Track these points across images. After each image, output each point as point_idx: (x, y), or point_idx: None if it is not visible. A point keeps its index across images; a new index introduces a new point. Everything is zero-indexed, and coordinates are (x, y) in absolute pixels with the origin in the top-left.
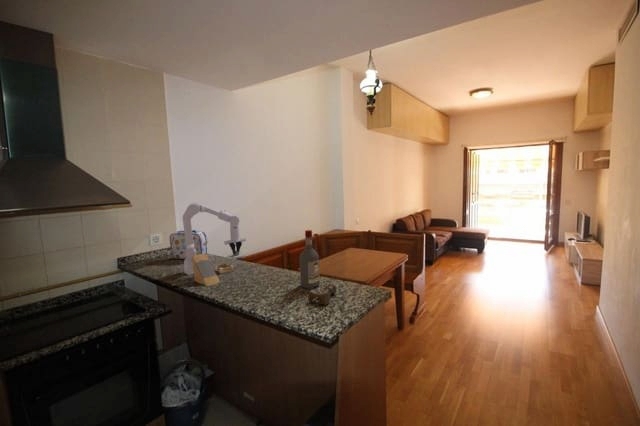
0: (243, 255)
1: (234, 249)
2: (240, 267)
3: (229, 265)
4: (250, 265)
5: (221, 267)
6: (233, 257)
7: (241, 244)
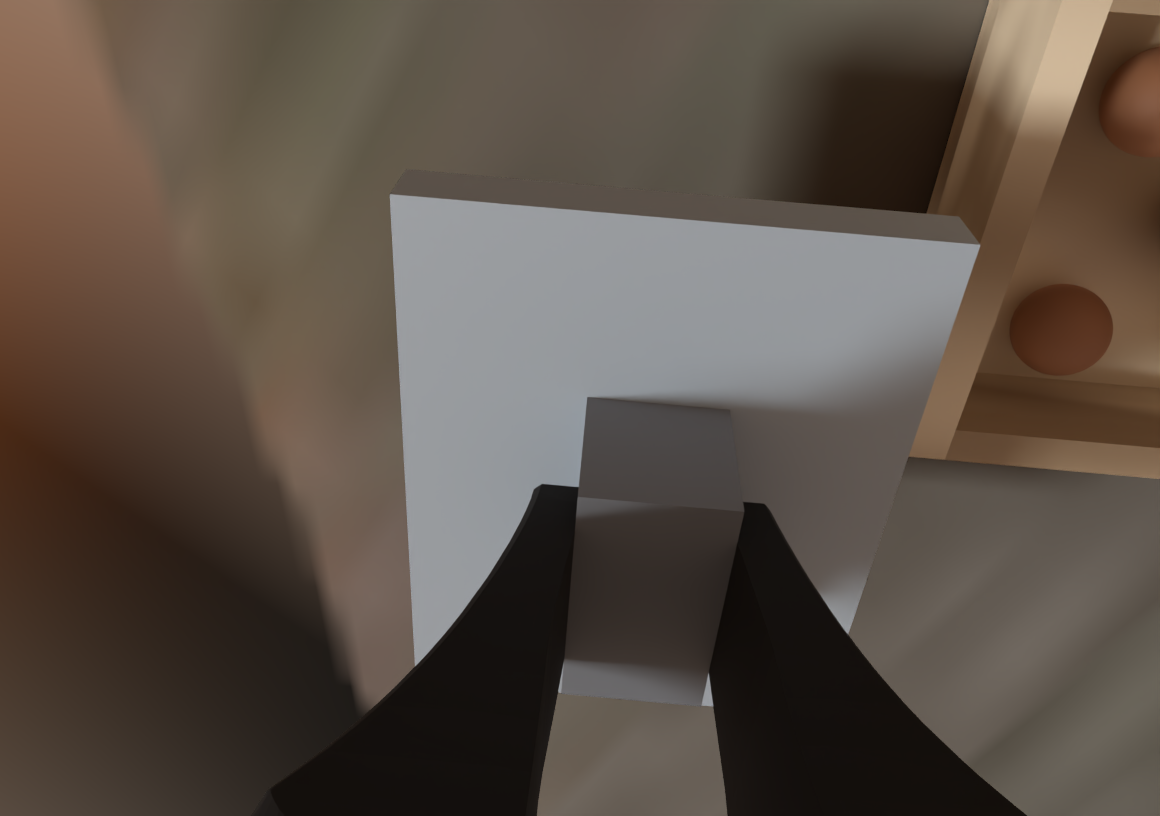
0: (477, 207)
1: (813, 645)
2: (625, 134)
3: (1026, 215)
4: (301, 71)
5: (1076, 398)
6: (960, 291)
7: (323, 771)
